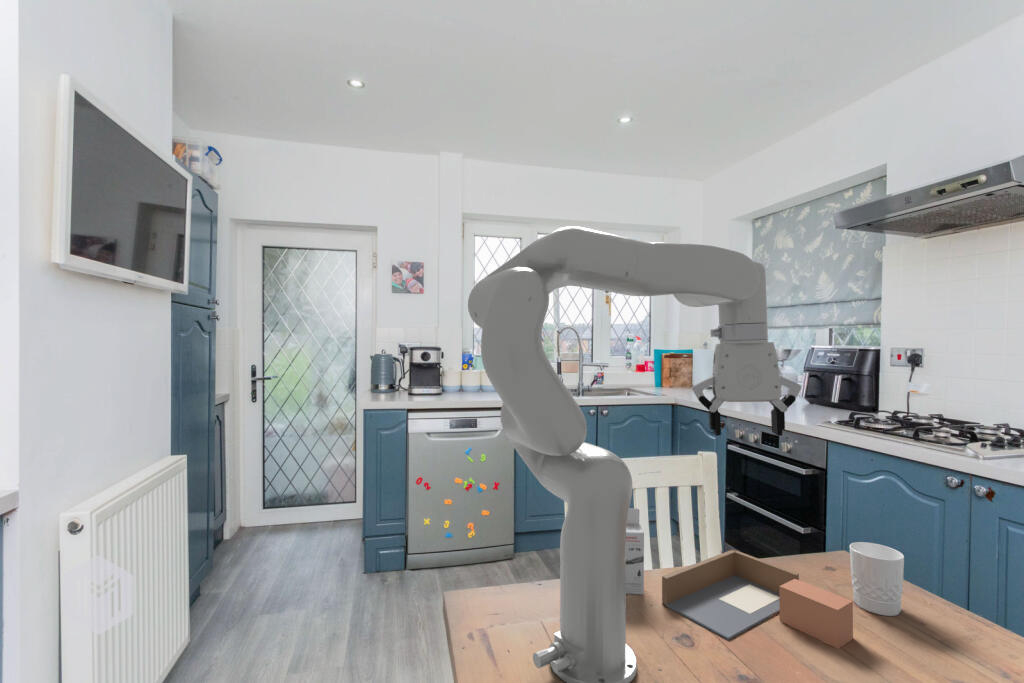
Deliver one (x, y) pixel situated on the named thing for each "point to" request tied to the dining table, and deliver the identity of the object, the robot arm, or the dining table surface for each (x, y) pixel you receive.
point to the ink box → (634, 554)
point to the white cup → (877, 577)
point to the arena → (726, 592)
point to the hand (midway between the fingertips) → (746, 434)
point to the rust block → (816, 612)
